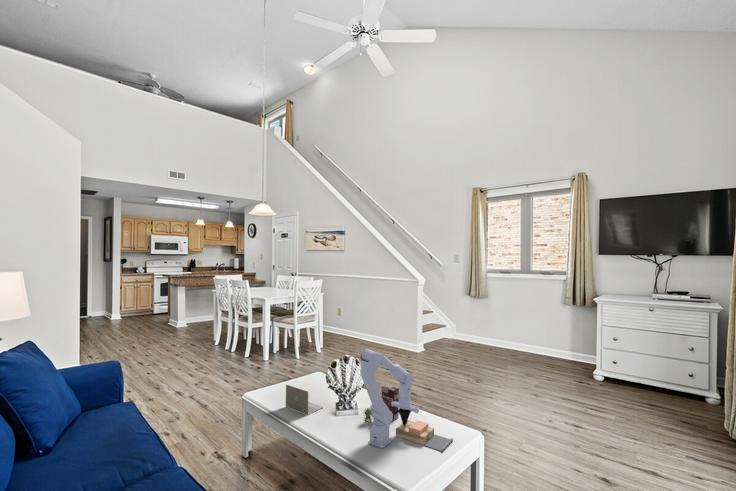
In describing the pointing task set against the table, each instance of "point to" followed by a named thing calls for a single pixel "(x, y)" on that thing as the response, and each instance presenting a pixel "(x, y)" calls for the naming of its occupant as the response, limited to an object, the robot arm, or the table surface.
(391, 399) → the supplement box
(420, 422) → the block
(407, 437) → the deck
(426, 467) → the table surface
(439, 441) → the mat
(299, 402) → the laptop
